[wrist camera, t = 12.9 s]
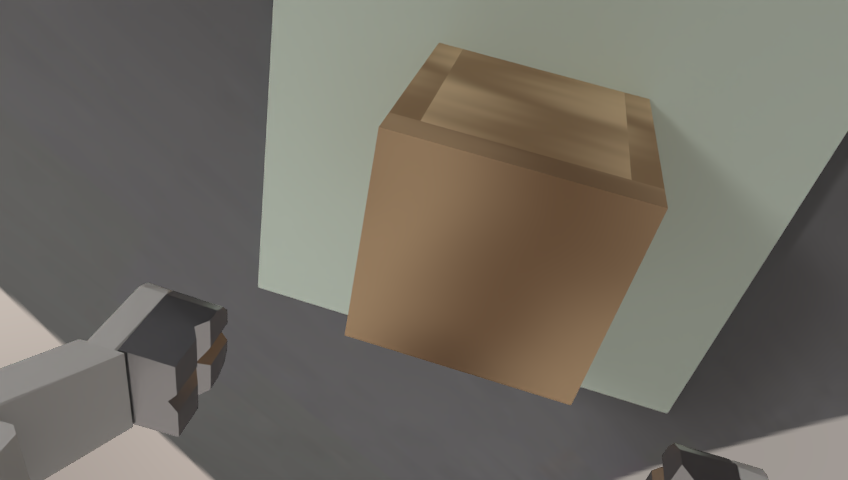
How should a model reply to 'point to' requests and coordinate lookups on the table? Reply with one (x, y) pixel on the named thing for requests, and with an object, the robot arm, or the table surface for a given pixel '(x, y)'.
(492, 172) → the oak block
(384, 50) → the sage mat
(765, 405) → the table surface
